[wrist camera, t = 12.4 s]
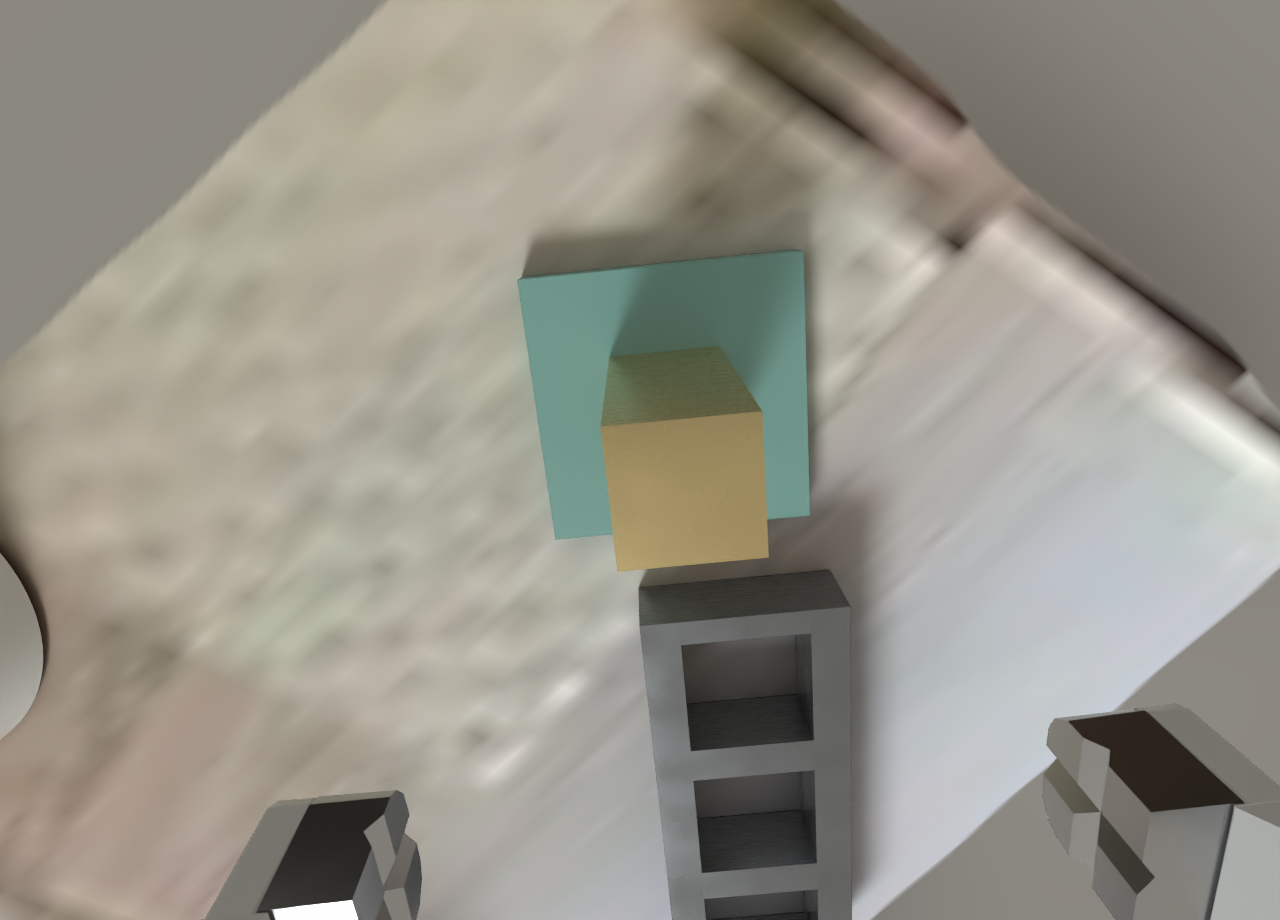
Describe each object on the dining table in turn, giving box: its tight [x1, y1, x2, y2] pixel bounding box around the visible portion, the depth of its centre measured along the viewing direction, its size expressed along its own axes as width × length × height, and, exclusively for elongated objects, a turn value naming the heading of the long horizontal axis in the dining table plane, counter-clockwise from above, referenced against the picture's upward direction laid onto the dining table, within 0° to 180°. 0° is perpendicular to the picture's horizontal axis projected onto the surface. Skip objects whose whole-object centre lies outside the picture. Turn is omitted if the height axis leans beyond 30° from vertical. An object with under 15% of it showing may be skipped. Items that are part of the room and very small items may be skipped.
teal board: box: [517, 250, 810, 540], centre depth 28 cm, size 10×10×1 cm
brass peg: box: [600, 346, 769, 572], centre depth 23 cm, size 4×4×9 cm
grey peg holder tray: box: [639, 570, 852, 920], centre depth 33 cm, size 8×20×3 cm, turn 6°
